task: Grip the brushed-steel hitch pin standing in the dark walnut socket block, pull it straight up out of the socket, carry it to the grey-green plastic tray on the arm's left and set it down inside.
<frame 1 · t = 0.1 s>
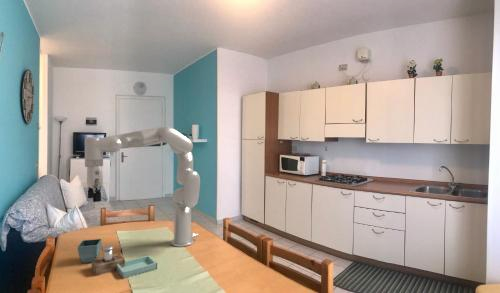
hand: (94, 199, 136), 31 cm above the table, fingers open, 9 cm apart
socket block: (108, 268, 133), on the table
tray: (136, 269, 133), on the table
pin: (108, 257, 133), in the socket block
flower pot: (90, 261, 141), on the table
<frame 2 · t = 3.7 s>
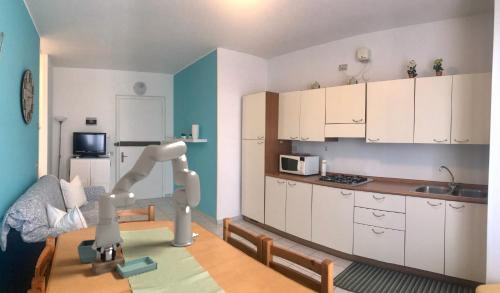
hand: (108, 259, 133), 4 cm above the table, fingers closed on pin, 3 cm apart
pin: (108, 257, 133), in the socket block, touching gripper
everything else where it was.
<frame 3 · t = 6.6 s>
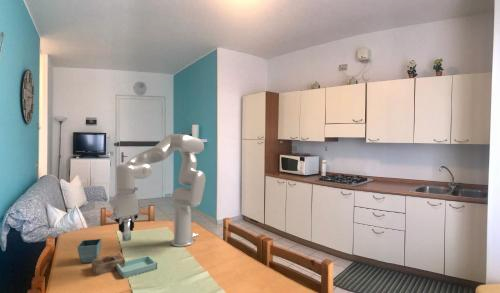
hand: (126, 230, 132), 18 cm above the table, fingers closed on pin, 3 cm apart
pin: (126, 229, 132), point 18 cm above the table, touching gripper
everything else where it was.
when the fingers open (6 cm above the table, at t = 9.9 s): pin stays where it is, resting on tray.
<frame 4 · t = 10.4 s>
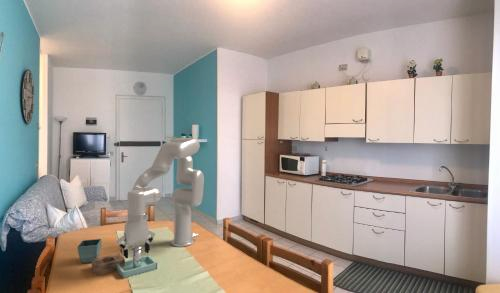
hand: (136, 254, 132), 7 cm above the table, fingers open, 8 cm apart
pin: (137, 257, 133), in the tray, point 6 cm above the table
everything else where it was.
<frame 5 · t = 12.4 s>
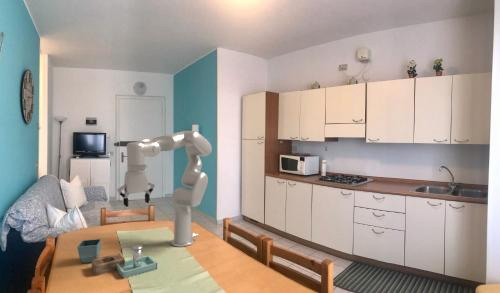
hand: (136, 204, 137), 29 cm above the table, fingers open, 9 cm apart
nothing on the table moved.
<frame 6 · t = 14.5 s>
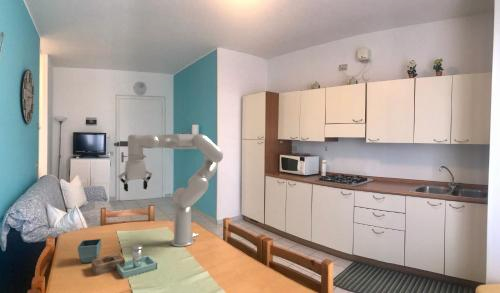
hand: (135, 189, 154), 32 cm above the table, fingers open, 9 cm apart
nothing on the table moved.
at the end: pin inside the target area on the tray (0.2 cm from its centre), point 5.5 cm above the tray's base; pin moved 13.6 cm from its start; the gripper is holding nothing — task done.
